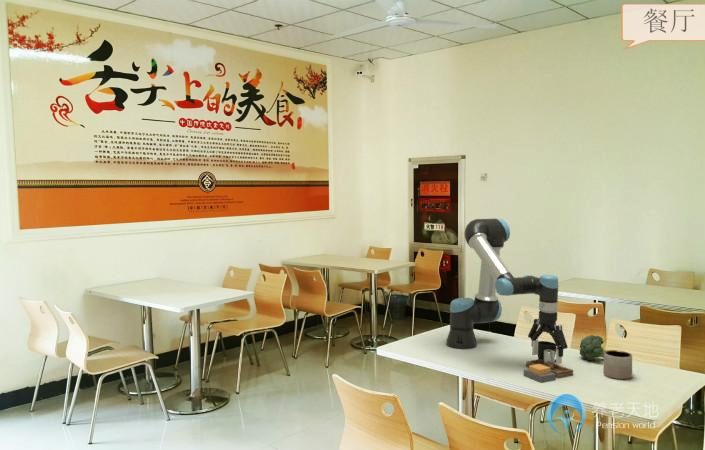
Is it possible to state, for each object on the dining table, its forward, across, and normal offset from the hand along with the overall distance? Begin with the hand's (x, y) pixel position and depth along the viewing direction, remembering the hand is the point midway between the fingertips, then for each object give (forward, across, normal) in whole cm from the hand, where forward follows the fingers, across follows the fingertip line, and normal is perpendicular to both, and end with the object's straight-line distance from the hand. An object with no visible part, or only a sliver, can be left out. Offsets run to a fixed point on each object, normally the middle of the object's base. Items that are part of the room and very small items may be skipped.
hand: (546, 359), depth 239 cm
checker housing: (+5, +6, -10) cm, 13 cm away
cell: (+4, +2, 0) cm, 4 cm away
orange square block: (+3, +6, -10) cm, 13 cm away
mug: (+5, -6, +7) cm, 11 cm away
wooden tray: (+5, +1, 0) cm, 5 cm away
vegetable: (+5, -1, +31) cm, 32 cm away
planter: (+5, +19, +21) cm, 29 cm away
